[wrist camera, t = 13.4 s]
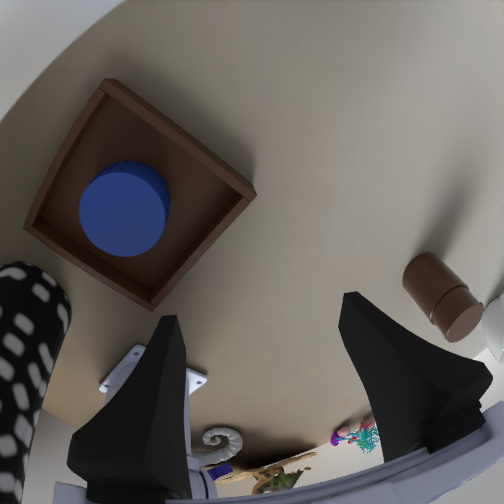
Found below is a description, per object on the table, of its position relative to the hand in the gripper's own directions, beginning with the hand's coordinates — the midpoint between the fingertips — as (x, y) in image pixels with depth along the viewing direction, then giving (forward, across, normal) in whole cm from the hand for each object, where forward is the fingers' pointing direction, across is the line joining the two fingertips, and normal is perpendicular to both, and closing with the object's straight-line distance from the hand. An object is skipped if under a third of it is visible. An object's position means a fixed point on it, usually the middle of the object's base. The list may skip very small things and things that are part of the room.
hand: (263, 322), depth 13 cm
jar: (+9, -16, +6) cm, 20 cm away
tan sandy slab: (+1, -1, +45) cm, 45 cm away
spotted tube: (+10, +19, +5) cm, 22 cm away
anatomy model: (+7, -15, +31) cm, 35 cm away
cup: (+10, -33, +14) cm, 37 cm away
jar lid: (+7, +7, -3) cm, 10 cm away
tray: (+9, +7, -3) cm, 12 cm away
